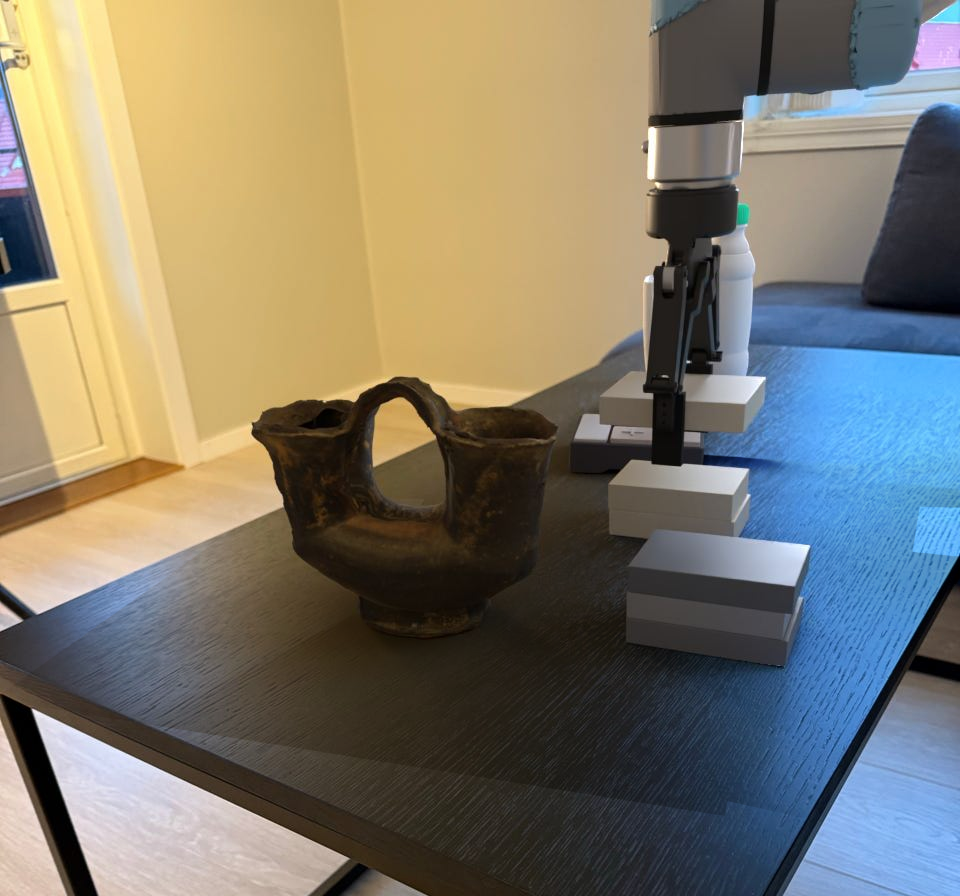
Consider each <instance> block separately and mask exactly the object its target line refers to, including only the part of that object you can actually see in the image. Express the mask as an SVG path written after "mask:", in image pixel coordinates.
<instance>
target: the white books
mask: <svg viewBox="0 0 960 896" xmlns="http://www.w3.org/2000/svg"><path fill="white" fill-rule="evenodd" d="M749 479H750V468H744V467H732V466H731V467H730V466H718V465H717V466H716V465H706V464H705V465H704V464H702V465H693V464H683V465H682V466H681V467H677V466H665V465H653V464H651V461H642V460H631V461H630V462H629V463H628V464H627V465H626V466H625V467H624V468H623V469H622V470H620V471H619V472H618V473H617V474H616V475H615V477H613V479H612V480H610V482H609V483H608V489H607V490H608V492H607V493H608V501H607V503H608V505H607V507H608V534H609V535H611V536H618V537H619V536H620V537H627V538H628V537H629V538H637V539H647V540H648V539H649V538H650V536H651V535H652V534H653V532H654V531H655V530H656V529H663V530H673V531H682V532H691V533H701V534H710V535H719V536H729V537H738V538H740V536H741V535H742V532H743V530H744V529H745V527H746V525H747V523H748V522H749V519H750V512H751V511H750V510H751V509H750V508H751V494H750V493H748V492H749V481H750V480H749Z"/></svg>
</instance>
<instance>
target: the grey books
mask: <svg viewBox="0 0 960 896" xmlns="http://www.w3.org/2000/svg"><path fill="white" fill-rule="evenodd" d="M811 551H812V545H811V544H802V543H794V542H793V543H792V542H783V541H776V540H774V541H773V540H766V539H765V540H764V539H756V538H748V537H747V538H746V537H739V538H738V537H729V536H719V535H710V534H701V533H691V532H682V531H673V530H663V529H656V530H655V531H654V532H653V534H652V535H651V536H650V538H649V539H647V540H646V542H645V543H644V544H643V545H642V547H641V548H640V550H639V551H638V553H637V554H636V555H635V556H634V558H633V559H632V560H631V562H630V563H629V564H628V566H627V591H626V617H625V619H626V620H625V621H626V622H625V626H626V627H625V642H626V643H628V644H633V645H641V646H646V647H651V648H652V647H653V648H659V649H664V650H670V651H677V652H684V653H688V654H689V653H690V654H697V655H702V656H708V657H713V658H720V657H721V659H726V660H733V661H739V660H741V662H745V661H747V663H753V664H758V663H760V664H759V665H764V664H770V665H780V666H783V667H784V666H786V667H787V664H786V663H788V661H789V658H790V655H791V653H792V650H793V647H794V643H795V641H796V639H797V635H798V632H799V629H800V627H801V623H802V620H803V619H802V618H803V610H804V601H805V597H804V596H800V594H801V592H802V589H803V586H804V584H805V581H806V578H807V576H808V573H809V570H810V560H811ZM770 665H769V666H770ZM783 667H782V668H783Z"/></svg>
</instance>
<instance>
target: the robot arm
mask: <svg viewBox="0 0 960 896" xmlns="http://www.w3.org/2000/svg"><path fill="white" fill-rule="evenodd" d="M959 1H960V0H650V14H649V15H650V16H649V29H648V78H647V79H648V83H647V86H648V87H647V88H648V91H647V92H648V93H647V94H648V95H647V96H648V97H647V98H648V99H647V109H648V110H647V116H648V118H647V126H648V128H647V131H648V132H647V139H648V140H645V141H643V142H642V144H641V148H640V149H641V152H642V153H643V154H644V155H647V174H646V179H647V180H648V181H649V182H651V183H654V188H650V189H648V193H646V197H645V233H646V235H647V236H648V237H649V238H652V239H656V240H663V239H664V240H665V241H666V242H667V248H666V256H665V260H664V261H662V262H661V265H655V266H654V268H653V269H654V270H653V271H652V275H653V277H654V298H653V309H652V320H651V331H650V342H649V353H648V364H647V375H646V382H645V384H643V392H644V393H653V417H652V456H651V464H653V465H665V466H677V467H681V466H682V465H683V452H684V432H697V433H704V434H709V432H708V431H693V430H684V428H685V404H686V392H682V391H683V382H684V375H685V374H709V375H713V364H709V362H721V361H722V357H723V351H718V348H719V347H720V341H719V270H720V257H721V253H722V249H721V245H712V238H714V237H720V236H725V235H728V234H731V233H732V232H734V230H735V229H736V226H737V213H738V203H739V198H740V197H739V195H740V188H738V186H737V184H734V178H736V177H738V176H739V175H740V174H741V173H742V159H743V158H742V157H743V142H744V141H743V139H744V122H745V121H744V115H745V114H744V113H745V110H744V107H745V100H746V98H747V97H752V96H756V97H764V96H767V95H780V94H781V95H785V94H802V95H811V96H812V95H819V94H820V95H821V94H823V93H825V92H833V91H845V90H855V91H860V92H861V91H865V90H866V91H867V90H869V89H870V88H878V87H886V86H893V85H896V84H898V83H900V82H902V80H904V79H905V78H906V76H907V75H908V74H909V72H910V70H911V67H912V64H913V61H914V58H915V54H916V50H917V45H918V40H919V35H920V29H921V27H922V26H923V25H925V24H926V23H928V22H930V21H931V20H932V19H934V18H935V17H937V16H939V15H940V14H941V13H943V12H944V11H946V10H947V9H948V8H950V7H952V6H954V5H955V4H956V3H957V2H959ZM669 294H670V295H669ZM687 361H690V363H687ZM662 375H666V376H668V377H662Z"/></svg>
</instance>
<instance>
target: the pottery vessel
mask: <svg viewBox="0 0 960 896" xmlns="http://www.w3.org/2000/svg"><path fill="white" fill-rule="evenodd" d="M399 398H401V399H404V400H405V401H407V402H408V403H410V404H411V405H412V407H413V408H414V409H415V411H416V414H417V415H418V417H419V418H420V419H421V420H422V421H423V423H424V424H425V425H426V428H427V429H429V430H430V432H431V433H432V434H433V435H434V436H435V439H436V443H437V446H438V449H439V452H440V455H441V459H442V462H443V466H444V478H445V496H444V499H442V501H441V502H439V503H436V504H432V505H412V504H411V505H410V504H404V503H400V502H396V501H394V500H391V499H390V498H388V497H387V496H386V495H384V494H383V492H381V490H380V488H379V486H378V484H377V482H376V478H375V471H374V460H373V459H374V458H373V444H374V437H375V435H374V434H375V428H376V427H375V425H376V424H375V423H376V421H375V420H376V415H377V414H378V412H379V410H380V408H381V405H384V404H386V403H388V402H391V401H392V400H395V399H399ZM251 426H252V427H251V432H250V434H251V436H252V438H254V440H256V441H257V442H258V443H260V444H261V445H262V446H263V447H264V448H265V450H266V451H267V453H268V456H269V458H270V460H271V462H272V469H273V474H274V476H273V479H274V482H275V485H276V487H277V489H278V492H279V493H280V495H281V497H282V501H283V502H282V505H283V508H284V511H285V514H286V516H287V519H288V522H289V525H290V527H291V536H292V541H291V545H292V550H294V553H295V554H296V555H297V556H298V557H299V558H300V559H301V560H302V561H304V563H306V564H308V566H310V567H312V568H313V569H315V570H317V572H319V573H321V574H322V575H323V576H324V577H326V578H328V579H329V580H331V581H333V582H334V583H337V584H338V585H340V586H341V587H343V588H344V589H346V590H349V591H350V592H352V593H354V594H356V595H357V596H358V600H359V601H358V607H357V609H358V614H359V617H360V618H361V619H362V620H363V621H365V623H366V624H367V625H368V626H370V627H371V628H373V629H375V630H376V631H377V630H378V631H380V632H384V633H387V634H390V635H395V636H400V637H413V638H423V639H424V638H436V637H437V638H438V637H442V636H446V635H453V634H459V633H461V632H464V631H468V630H473V629H475V628H477V627H478V626H479V625H480V624H481V623H482V620H483V617H484V613H486V611H489V610H491V608H492V602H491V598H493V597H495V596H496V595H498V594H499V593H501V592H503V591H504V590H506V589H507V588H509V587H512V586H513V585H515V584H516V583H519V582H521V581H522V580H524V579H525V578H527V577H528V576H531V574H532V572H533V570H534V568H535V566H536V565H537V559H538V553H539V550H540V549H541V548H540V547H541V545H540V542H541V515H542V509H543V506H544V497H545V490H546V489H545V488H546V484H547V477H548V469H549V467H550V461H551V459H552V453H553V450H554V446H555V444H556V441H557V440H558V438H557V435H558V430H559V426H558V425H556V423H555V422H552V421H551V420H550V419H549V418H547V417H546V416H545V415H544V414H543V413H542V412H539V411H536V410H534V409H532V408H520V407H513V406H508V405H507V406H504V405H503V406H489V407H488V406H487V407H469V408H464V409H459V410H455V409H454V408H452V407H451V406H450V404H449V403H448V401H447V399H446V398H445V397H443V396H442V395H440V394H438V393H436V391H434V390H433V388H432V386H431V385H430V383H427V382H424V381H423V380H421V379H420V378H419V377H417V376H404V375H403V376H402V375H399V376H396V375H395V376H394V377H392V378H390V379H389V380H387V381H386V382H381V383H377V384H376V385H374V386H373V387H369V388H368V389H366V390H364V391H362V392H360V393H359V395H358V397H357V399H356V400H355V401H353V400H350V399H341V398H340V399H339V398H337V399H336V398H335V399H331V400H325V401H324V400H323V399H319V400H318V399H314V398H313V399H299V400H296V401H294V402H291V403H289V404H287V405H284V406H280V407H279V406H277V407H275V406H273V407H270V408H267V409H266V410H264V411H261V414H260V416H259V419H258V420H257V421H251Z"/></svg>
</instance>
